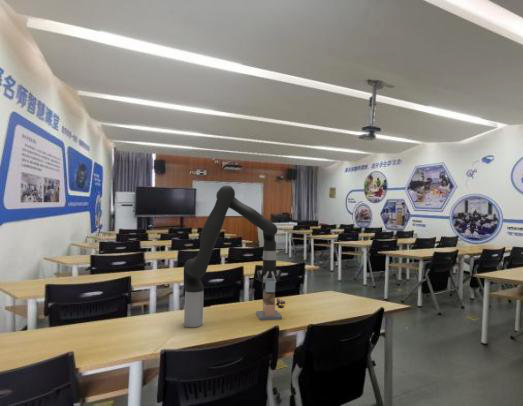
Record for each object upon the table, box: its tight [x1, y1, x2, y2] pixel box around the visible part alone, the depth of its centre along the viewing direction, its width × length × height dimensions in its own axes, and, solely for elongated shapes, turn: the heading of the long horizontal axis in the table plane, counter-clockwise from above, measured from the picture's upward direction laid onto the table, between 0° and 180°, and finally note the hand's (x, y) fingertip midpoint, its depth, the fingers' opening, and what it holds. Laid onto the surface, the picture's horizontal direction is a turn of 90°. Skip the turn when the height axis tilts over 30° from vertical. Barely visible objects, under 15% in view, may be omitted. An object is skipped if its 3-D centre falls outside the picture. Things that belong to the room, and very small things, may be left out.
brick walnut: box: [262, 290, 276, 306], centre depth 185 cm, size 5×8×6 cm, turn 12°
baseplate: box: [255, 301, 283, 321], centre depth 184 cm, size 12×12×8 cm
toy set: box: [275, 297, 286, 309], centre depth 207 cm, size 12×11×5 cm
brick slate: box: [263, 277, 276, 293], centre depth 185 cm, size 5×8×6 cm, turn 11°
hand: (269, 289), depth 185 cm, fingers closed on brick slate, 5 cm apart
